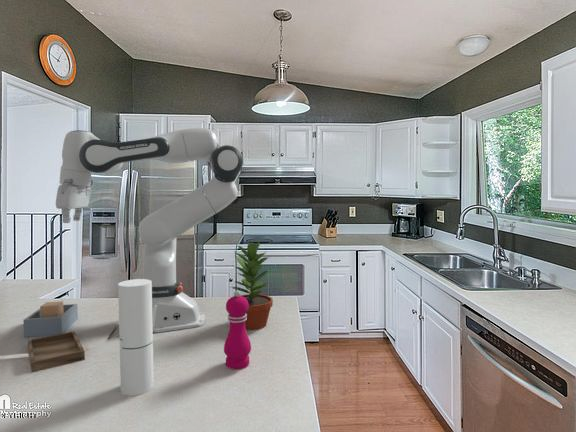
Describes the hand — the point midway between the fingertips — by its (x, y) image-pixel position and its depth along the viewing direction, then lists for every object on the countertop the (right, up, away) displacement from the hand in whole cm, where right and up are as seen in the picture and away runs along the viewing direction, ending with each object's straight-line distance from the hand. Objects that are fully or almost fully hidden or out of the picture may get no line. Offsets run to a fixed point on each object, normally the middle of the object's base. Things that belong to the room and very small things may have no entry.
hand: (71, 221), depth 121 cm
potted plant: (+59, -36, +7) cm, 69 cm away
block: (-7, -35, +1) cm, 36 cm away
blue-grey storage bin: (-7, -36, +1) cm, 37 cm away
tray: (+5, -37, -17) cm, 41 cm away
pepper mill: (+58, -38, -23) cm, 73 cm away
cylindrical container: (+36, -39, -35) cm, 63 cm away
